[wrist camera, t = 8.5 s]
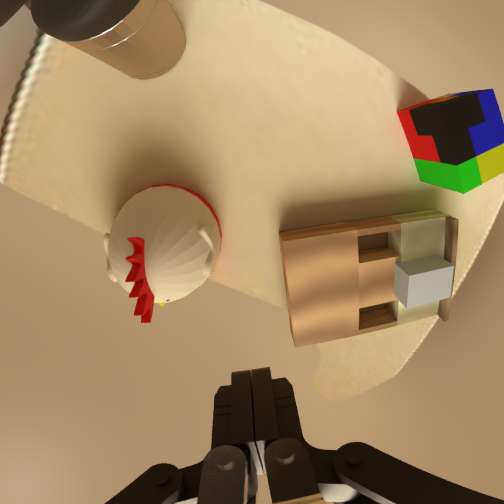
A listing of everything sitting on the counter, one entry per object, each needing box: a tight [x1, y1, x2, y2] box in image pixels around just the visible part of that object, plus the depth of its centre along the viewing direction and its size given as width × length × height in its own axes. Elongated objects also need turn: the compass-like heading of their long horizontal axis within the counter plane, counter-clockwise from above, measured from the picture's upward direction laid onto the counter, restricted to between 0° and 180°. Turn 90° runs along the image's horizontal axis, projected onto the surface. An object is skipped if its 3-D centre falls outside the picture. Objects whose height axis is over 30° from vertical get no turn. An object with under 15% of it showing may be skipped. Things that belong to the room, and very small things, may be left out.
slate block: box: [394, 255, 454, 309], centre depth 36 cm, size 4×7×4 cm, turn 98°
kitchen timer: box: [103, 184, 222, 323], centre depth 32 cm, size 14×14×15 cm
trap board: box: [279, 209, 458, 347], centre depth 39 cm, size 15×23×6 cm, turn 99°
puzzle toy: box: [397, 89, 504, 194], centre depth 31 cm, size 10×10×10 cm
